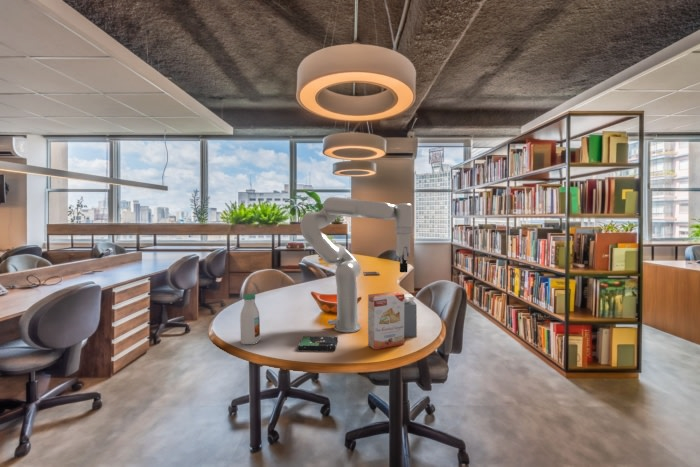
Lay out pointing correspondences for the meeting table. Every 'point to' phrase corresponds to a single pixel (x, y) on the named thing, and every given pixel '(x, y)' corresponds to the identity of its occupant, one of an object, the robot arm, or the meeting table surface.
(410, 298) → the pump head
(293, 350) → the meeting table surface
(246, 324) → the milk bottle
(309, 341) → the disk drive
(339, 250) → the robot arm
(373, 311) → the cracker box
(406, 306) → the block
